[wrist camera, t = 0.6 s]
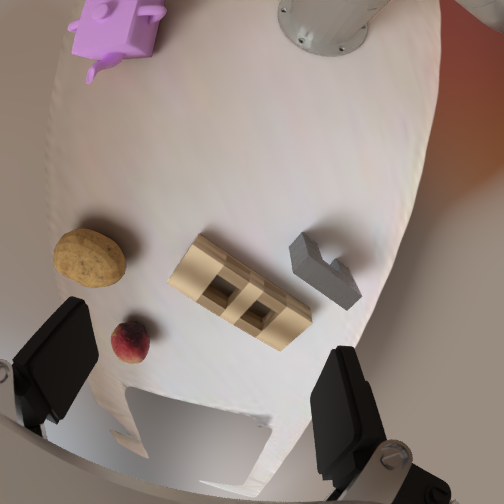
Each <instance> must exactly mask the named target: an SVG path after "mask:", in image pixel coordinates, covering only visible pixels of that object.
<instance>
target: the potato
mask: <svg viewBox="0 0 504 504" xmlns="http://www.w3.org/2000/svg"><path fill="white" fill-rule="evenodd" d="M53 259H54V264H55V267H56V269H57V270H58V271H59V272H60V273H61V274H62V275H64V276H66V277H68V278H70V279H72V280H74V281H76V282H77V283H79V284H81V285H83V286H85V287H89V288H98V287H106V286H110V285H112V284H115V283H116V282H118V281H119V280H120V279H121V278H122V276H123V275H124V274H125V270H126V263H125V257H124V255H123V253H122V251H121V249H120V247H119V246H118V245H117V244H116V243H115V242H114V241H113V240H111V239H109V238H108V237H106V236H104V235H102V234H100V233H98V232H95V231H93V230H89V229H86V228H82V229H76V230H73V231H70V232H68V233H66V234H64V235H63V236H62V238H61V239H60V240H59V242H58V243H57V245H56V247H55V250H54V258H53Z"/></svg>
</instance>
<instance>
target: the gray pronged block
mask: <svg viewBox="0 0 504 504" xmlns="http://www.w3.org/2000/svg"><path fill="white" fill-rule="evenodd" d="M289 250H290V257H291V263H292V270H293V273H294V274H295V275H297V276H298V277H300V278H301V279H303V280H304V281H305V282H307V283H308V284H310V285H311V286H313V287H314V288H315V289H317V290H318V291H320V292H321V293H322V294H324V295H325V296H327V297H328V298H330V299H331V300H332V301H334V302H335V303H337V304H338V305H339V306H341V307H342V308H344V309H345V310H348V309H350V308H351V307H352V306H353V305H354V304H355V303H356V302H357V301H358V300H359V299H360V298H361V297H362V295H361V293H360V291H359V289H358V287H357V284H356V282H355V280H354V278H353V276H352V275H351V273H350V271H349V269H348V268H347V267H346V266H345V265H343V264H342V263H341V262H339V261H338V260H337V259H335V260H334V261H333V262H332V263H331V264H330V265H329V264H328V263H326V262H325V261H324V260H323V258H322V256H321V253H320V251H319V248H318V245H317V244H316V243H315V242H314V241H313V240H311V239H310V238H309V237H307V236H306V235H305V234H303V233H301V234H300V235H299V236H298V237H297V238H296V240H295V241H294V242H293V243H292V244H291V245H290V247H289Z"/></svg>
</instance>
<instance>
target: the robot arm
mask: <svg viewBox="0 0 504 504" xmlns="http://www.w3.org/2000/svg"><path fill="white" fill-rule="evenodd" d="M389 1H390V0H281V2H280V4H279V8H278V20H279V24H280V27H281V29H282V31H283V32H284V34H285V35H286V36H287V37H288V38H289V39H290V40H291V41H292V42H293V43H294V44H295V45H297V46H298V47H300V48H302V49H304V50H306V51H308V52H310V53H313V54H316V55H322V56H341V55H344V54H348V53H350V52H352V51H354V50H355V49H356V48H358V47H359V46H360V45H361V44H362V43H363V41H364V39H365V37H366V35H367V31H368V23H367V22H368V21H369V20H370V19H371V18H372V17H373V16H374V15H375V14H376V13H377V12H378V11H379V10H381V9H382V8H383V7H384V6H385V5H386V4H387V3H388V2H389ZM455 1H457V2H458V3H459V4H461V5H462V6H463V7H464V8H465V9H467V10H468V11H469V12H470V13H471V14H473V15H474V16H475V17H476V18H478V19H479V20H480V21H481V22H483V23H484V24H485V25H487V26H489V27H490V28H492V29H494V30H496V31H499V32H502V33H504V0H455ZM283 11H285V12H283ZM299 41H302V42H303V43H300V42H299ZM339 49H342V51H340V50H339ZM98 357H99V353H98V349H97V345H96V341H95V336H94V332H93V328H92V323H91V318H90V313H89V308H88V305H87V304H86V303H85V301H84V300H83V299H80V298H76V297H73V296H71V297H69V298H68V299H67V300H66V301H65V302H64V303H63V304H62V305H61V306H60V307H59V308H58V309H57V310H56V312H54V313H53V314H52V315H51V317H50V318H49V319H48V320H47V321H46V322H45V323H44V324H43V325H42V326H41V328H39V330H38V331H37V332H36V333H35V334H34V335H33V336H32V337H31V338H30V340H29V341H28V342H27V343H26V344H25V345H24V347H23V348H22V349H21V350H20V351H19V352H18V354H17V355H16V356H15V357H14V359H13V362H14V363H13V364H12V365H11V364H10V363H9V362H8V361H7V360H3V359H0V504H459V503H458V502H457V501H456V500H453V501H452V500H451V490H450V487H449V485H448V484H447V483H446V482H444V481H443V480H441V479H439V478H438V477H436V476H434V475H432V474H430V473H429V472H427V471H425V470H423V469H422V468H420V467H418V466H416V465H415V464H413V463H412V461H413V457H412V452H411V450H410V449H409V447H408V446H407V445H406V444H405V443H403V442H401V441H399V440H392V439H391V440H387V439H386V435H385V432H384V428H383V425H382V421H381V419H380V415H379V412H378V409H377V405H376V402H375V399H374V396H373V393H372V390H371V387H370V384H369V382H368V381H365V379H364V376H363V373H362V370H361V367H360V364H359V361H358V358H357V355H356V352H355V349H354V347H352V346H337V348H336V349H332V350H331V352H330V355H329V357H328V359H327V361H326V363H325V366H324V368H323V370H322V372H321V374H320V376H319V379H318V381H317V383H316V385H315V387H314V389H313V391H312V393H311V397H310V404H311V413H312V421H313V430H314V439H315V449H316V459H317V469H318V473H319V474H322V477H323V480H333V487H334V489H333V490H332V491H331V492H330V493H329V495H328V496H327V497H326V498H325V499H324V501H317V502H269V501H251V500H240V499H239V500H238V499H230V498H222V497H215V496H209V495H203V494H197V493H191V492H186V491H182V490H177V489H173V488H168V487H164V486H161V485H157V484H153V483H150V482H146V481H143V480H139V479H136V478H133V477H130V476H127V475H124V474H121V473H119V472H116V471H113V470H111V469H108V468H105V467H103V466H100V465H98V464H95V463H93V462H91V461H88V460H86V459H84V458H82V457H79V456H77V455H75V454H73V453H71V452H69V451H67V450H65V449H63V448H61V447H59V446H57V445H55V444H53V443H51V442H49V441H48V439H47V435H46V431H45V426H44V421H45V419H47V420H49V421H51V422H53V423H55V424H58V422H59V420H61V419H63V418H64V417H65V415H66V413H67V412H68V410H69V408H70V406H71V405H72V403H73V401H74V399H75V398H76V396H77V394H78V392H79V391H80V389H81V387H82V386H83V384H84V382H85V380H86V379H87V377H88V376H89V374H90V372H91V371H92V369H93V367H94V366H95V364H96V363H97V361H98Z"/></svg>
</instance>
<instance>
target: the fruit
mask: <svg viewBox="0 0 504 504" xmlns="http://www.w3.org/2000/svg"><path fill="white" fill-rule="evenodd" d="M111 344H112V349H113V351H114V353H115V354H116V356H117V357H118V359H120V360H121V361H123V362H126V363H130V364H133V363H140V362H142V361H143V360H144V359H145V357H146V355H147V353H148V350H149V346H150V339H149V336H148V335H147V333H146V332H145V329H144V327H143V326H142V325H140V324H138V323H121V324H119V325H118V326H117V327H116V329H115V330H114V332H113V333H112V336H111Z"/></svg>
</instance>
